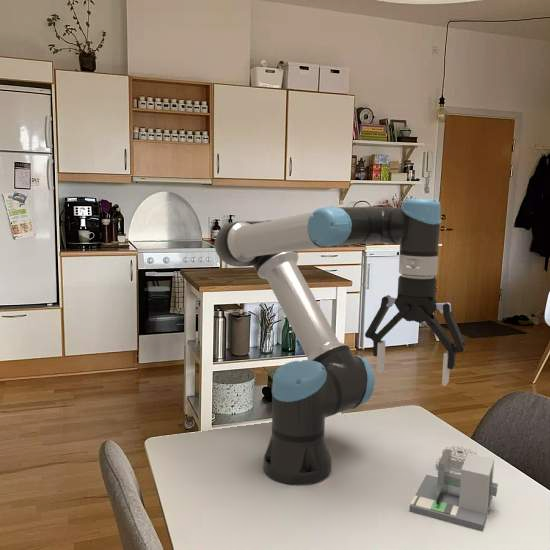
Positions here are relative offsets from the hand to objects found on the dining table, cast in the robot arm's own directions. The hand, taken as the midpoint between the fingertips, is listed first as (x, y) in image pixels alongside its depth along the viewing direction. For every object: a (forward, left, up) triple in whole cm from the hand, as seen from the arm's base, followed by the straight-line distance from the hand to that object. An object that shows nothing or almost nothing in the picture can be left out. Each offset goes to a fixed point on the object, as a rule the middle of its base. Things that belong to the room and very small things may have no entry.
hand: (411, 377), depth 116 cm
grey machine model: (+13, -4, -22) cm, 25 cm away
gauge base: (+10, -3, -23) cm, 26 cm away
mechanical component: (+9, +12, -24) cm, 28 cm away
